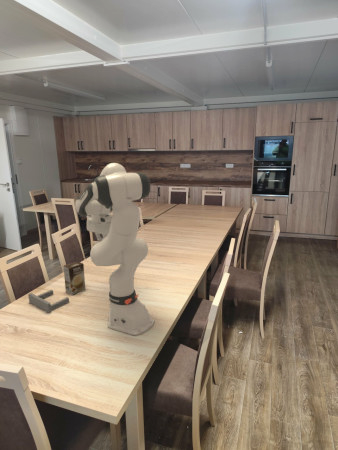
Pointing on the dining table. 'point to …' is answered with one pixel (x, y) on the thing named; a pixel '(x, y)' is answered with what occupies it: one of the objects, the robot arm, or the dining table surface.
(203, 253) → the dining table surface
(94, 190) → the robot arm
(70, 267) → the coffee box
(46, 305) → the grey u-shaped bracket
